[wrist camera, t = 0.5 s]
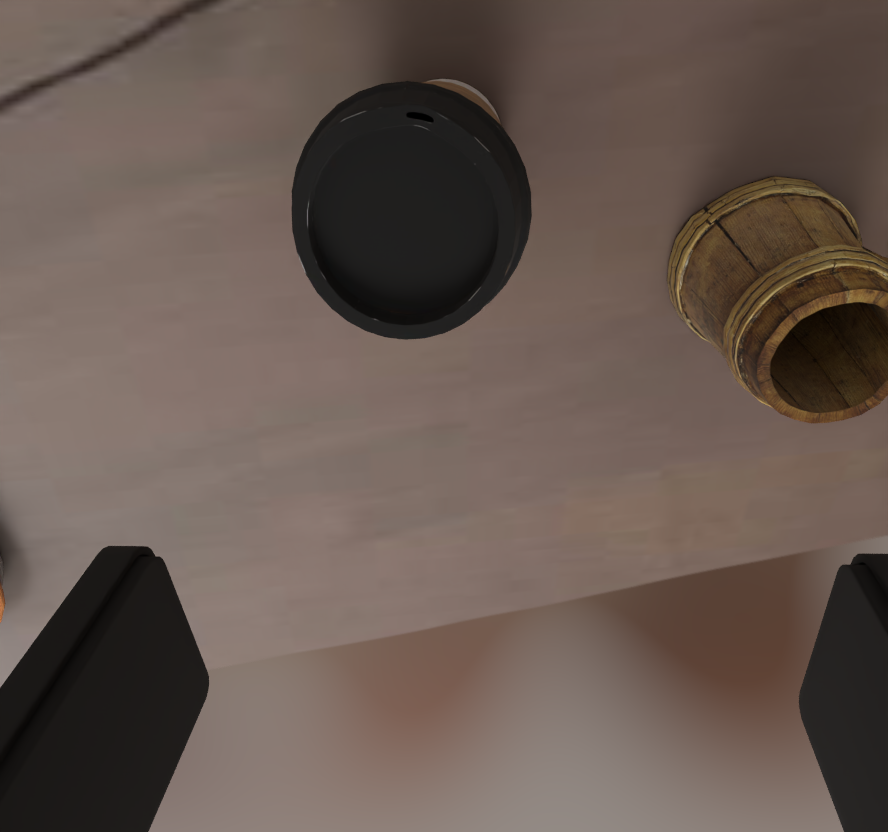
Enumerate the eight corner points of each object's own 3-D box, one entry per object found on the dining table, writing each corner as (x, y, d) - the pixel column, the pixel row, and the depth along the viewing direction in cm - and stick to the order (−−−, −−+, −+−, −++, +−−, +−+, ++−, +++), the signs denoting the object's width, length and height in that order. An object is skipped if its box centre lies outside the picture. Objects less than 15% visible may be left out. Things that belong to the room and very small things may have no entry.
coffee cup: (548, 70, 33) (566, 127, 20) (505, 242, 37) (497, 377, 25) (374, 30, 32) (280, 61, 20) (352, 207, 37) (264, 325, 24)
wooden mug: (942, 299, 37) (1240, 524, 21) (678, 357, 40) (776, 589, 25) (951, 126, 32) (1334, 255, 17) (655, 206, 35) (756, 375, 20)
